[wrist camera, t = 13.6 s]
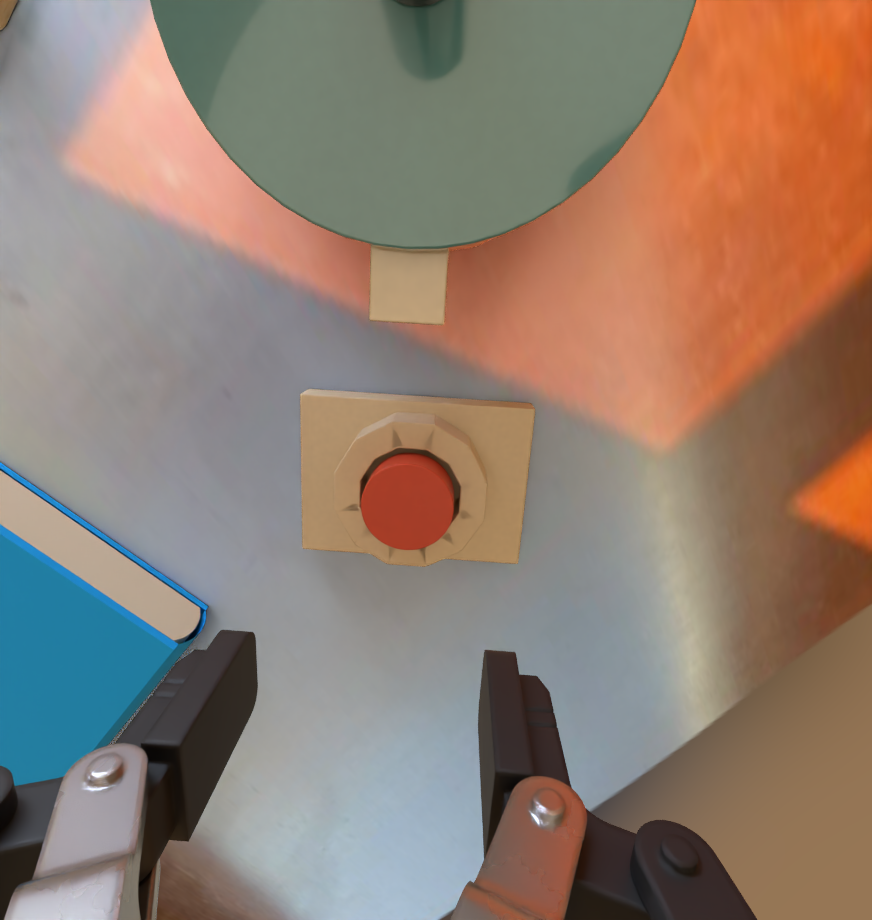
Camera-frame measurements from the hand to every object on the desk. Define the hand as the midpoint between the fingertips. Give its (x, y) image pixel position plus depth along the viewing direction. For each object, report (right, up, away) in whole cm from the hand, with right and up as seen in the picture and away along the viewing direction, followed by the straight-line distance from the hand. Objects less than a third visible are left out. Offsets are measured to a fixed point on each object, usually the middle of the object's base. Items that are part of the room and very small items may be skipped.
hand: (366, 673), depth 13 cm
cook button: (0, +4, +12) cm, 12 cm away
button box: (+1, +4, +15) cm, 15 cm away
